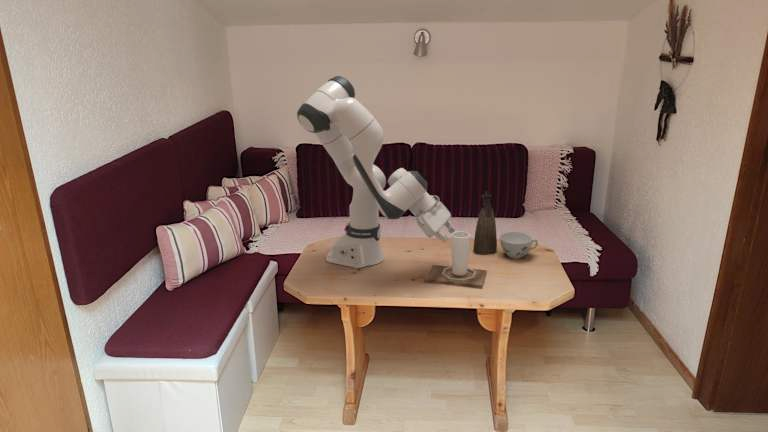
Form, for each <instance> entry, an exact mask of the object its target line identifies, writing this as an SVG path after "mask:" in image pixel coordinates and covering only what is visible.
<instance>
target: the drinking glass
mask: <svg viewBox="0 0 768 432" xmlns="http://www.w3.org/2000/svg"><path fill="white" fill-rule="evenodd" d="M450 234H451V233H450ZM470 249H471V234H470V233H469V232H467V231H461V230H458V231H455V232H453V233H452V234H451V235H450V252H451V253H450V254H451V267H452V273H453V274H454V275H457V276H464V275H466V274H467V267H469V266H468V265H469V258H470V257H469V256H470Z"/></svg>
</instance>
